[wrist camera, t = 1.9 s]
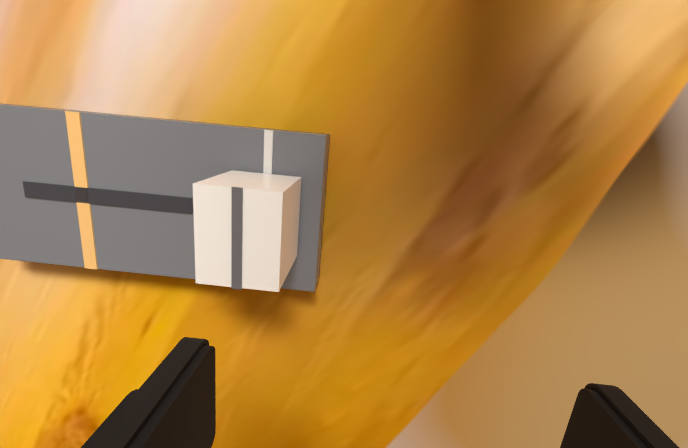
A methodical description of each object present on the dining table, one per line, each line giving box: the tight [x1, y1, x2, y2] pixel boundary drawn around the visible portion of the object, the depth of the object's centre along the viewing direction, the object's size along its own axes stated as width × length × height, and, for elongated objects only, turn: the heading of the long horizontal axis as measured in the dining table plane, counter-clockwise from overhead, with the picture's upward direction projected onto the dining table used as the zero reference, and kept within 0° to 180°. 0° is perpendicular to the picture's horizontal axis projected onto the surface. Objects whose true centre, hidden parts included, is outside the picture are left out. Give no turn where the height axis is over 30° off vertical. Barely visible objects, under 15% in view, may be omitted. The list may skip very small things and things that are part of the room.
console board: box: [0, 104, 330, 292], centre depth 27 cm, size 26×12×3 cm, turn 85°
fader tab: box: [193, 170, 301, 292], centre depth 23 cm, size 5×6×6 cm
